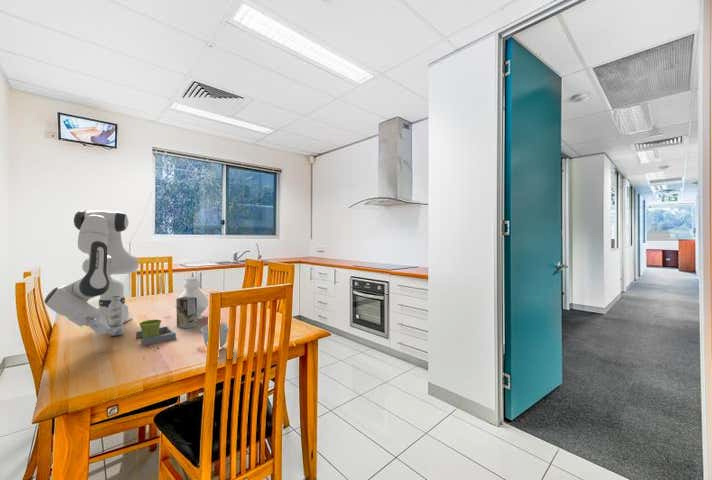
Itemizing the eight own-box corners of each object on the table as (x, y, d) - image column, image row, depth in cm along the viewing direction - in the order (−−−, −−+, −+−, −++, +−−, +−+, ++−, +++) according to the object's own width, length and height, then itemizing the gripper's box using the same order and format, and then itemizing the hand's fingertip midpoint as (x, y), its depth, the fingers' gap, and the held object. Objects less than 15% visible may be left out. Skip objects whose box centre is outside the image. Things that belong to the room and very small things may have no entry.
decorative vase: (214, 316, 195) (214, 277, 194) (189, 324, 179) (189, 281, 178) (195, 313, 202) (194, 275, 201) (168, 320, 186) (168, 278, 185)
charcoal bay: (136, 337, 156) (136, 331, 156) (168, 331, 166) (168, 325, 165) (141, 345, 145) (141, 339, 145) (175, 338, 154) (175, 332, 154)
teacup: (219, 340, 152) (219, 320, 152) (234, 348, 143) (234, 327, 142) (193, 347, 143) (193, 326, 143) (208, 356, 133) (208, 333, 133)
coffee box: (197, 325, 176) (197, 297, 175) (187, 328, 170) (187, 299, 170) (186, 323, 179) (185, 296, 179) (175, 326, 174) (175, 298, 173)
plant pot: (135, 343, 148) (134, 325, 148) (144, 336, 157) (144, 319, 157) (156, 342, 149) (156, 324, 149) (165, 335, 159) (164, 319, 158)
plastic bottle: (115, 338, 155) (115, 298, 154) (104, 336, 156) (104, 297, 155) (127, 333, 161) (127, 295, 160) (116, 332, 162) (116, 295, 162)
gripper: (94, 314, 130) (123, 332, 137) (91, 305, 145) (117, 322, 152) (80, 327, 128) (110, 345, 135) (78, 317, 142) (106, 333, 149)
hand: (114, 332), depth 144 cm, fingers closed
